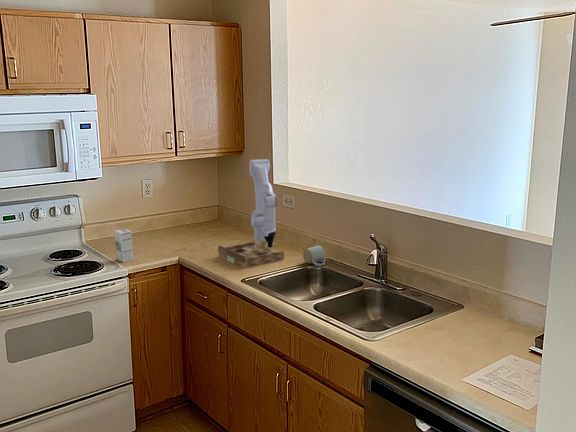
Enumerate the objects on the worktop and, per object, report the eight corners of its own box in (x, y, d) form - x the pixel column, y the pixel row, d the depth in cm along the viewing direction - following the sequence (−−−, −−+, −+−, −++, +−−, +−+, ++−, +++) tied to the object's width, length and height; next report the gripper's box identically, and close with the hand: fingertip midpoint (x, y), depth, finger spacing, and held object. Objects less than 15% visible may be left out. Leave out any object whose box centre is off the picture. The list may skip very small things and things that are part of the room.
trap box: (257, 248, 290) (257, 238, 289) (284, 258, 273) (284, 247, 272) (218, 256, 277) (218, 245, 275) (243, 268, 260) (243, 256, 258)
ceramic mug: (301, 261, 269) (302, 246, 267) (315, 258, 274) (316, 243, 272) (315, 268, 261) (315, 252, 259) (329, 265, 265) (329, 249, 263)
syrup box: (133, 260, 271) (131, 230, 267) (122, 262, 267) (120, 232, 263) (127, 257, 275) (125, 228, 271) (116, 260, 271) (114, 230, 267)
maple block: (262, 248, 281) (262, 239, 280) (267, 250, 278) (267, 241, 277) (254, 250, 278) (254, 241, 277) (260, 252, 275) (260, 243, 274)
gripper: (265, 216, 286) (265, 242, 289) (257, 222, 272) (257, 250, 275) (279, 217, 284) (279, 243, 287) (271, 223, 270) (271, 251, 273)
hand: (269, 247), depth 281 cm, fingers closed
